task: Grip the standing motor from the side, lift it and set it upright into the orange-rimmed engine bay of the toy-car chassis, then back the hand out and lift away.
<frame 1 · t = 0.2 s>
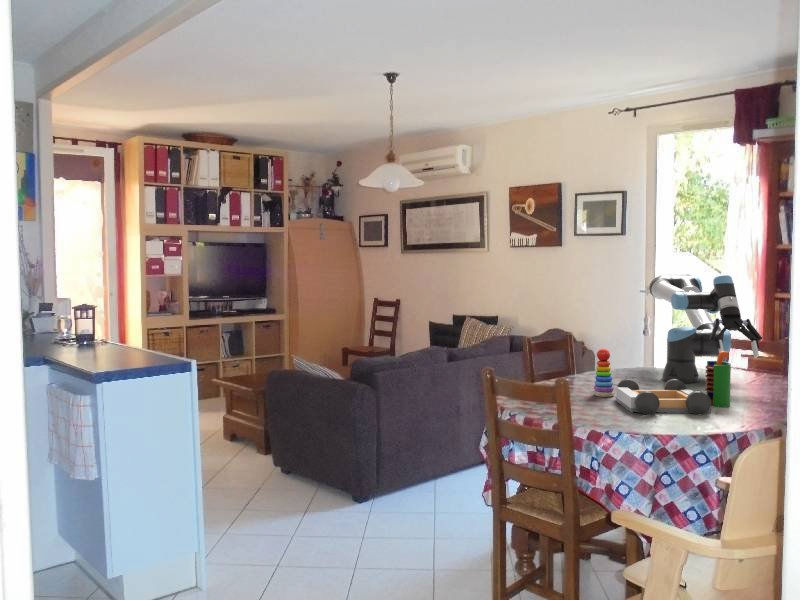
hand: (739, 356, 286), 15 cm above the table, tool tilted 35°, fingers open, 13 cm apart
chassis: (661, 406, 265), on the table
motor: (716, 404, 268), on the table
stacking toy: (603, 395, 285), on the table
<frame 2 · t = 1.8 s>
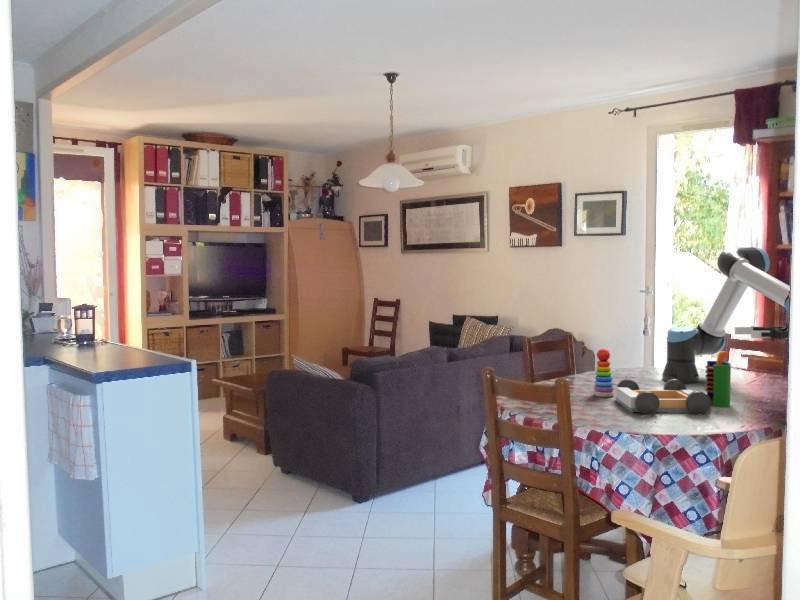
hand: (743, 332, 266), 27 cm above the table, tool horizontal, fingers open, 13 cm apart
nothing on the table moved.
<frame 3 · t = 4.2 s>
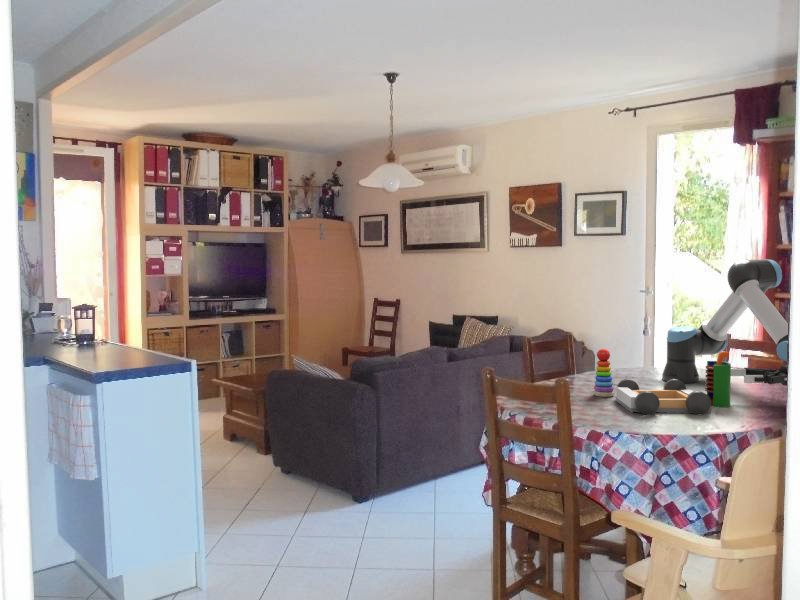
hand: (736, 375, 267), 11 cm above the table, tool horizontal, fingers open, 13 cm apart
nothing on the table moved.
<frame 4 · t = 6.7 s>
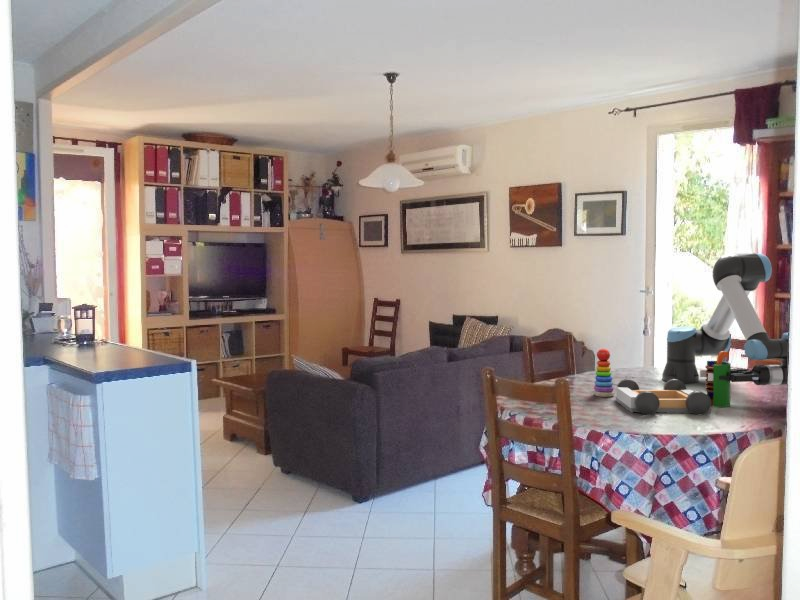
hand: (704, 375, 267), 11 cm above the table, tool horizontal, fingers closed on motor, 7 cm apart
motor: (716, 404, 268), on the table, touching gripper
everything else where it was.
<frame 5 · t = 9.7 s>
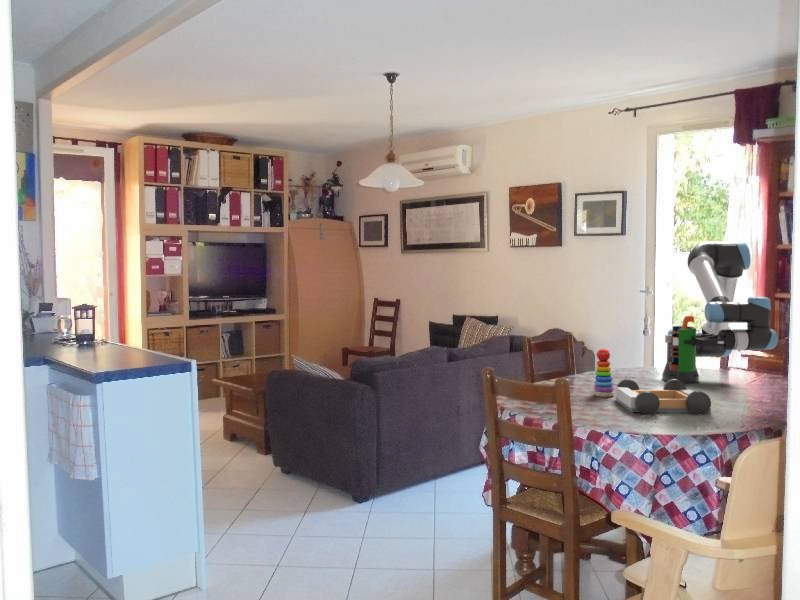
hand: (669, 340, 262), 25 cm above the table, tool horizontal, fingers closed on motor, 7 cm apart
motor: (682, 370, 263), point 14 cm above the table, touching gripper
everything else where it was.
when the fingers open (14 cm above the table, at t = 12.7 s): motor drops 1 cm, resting on chassis.
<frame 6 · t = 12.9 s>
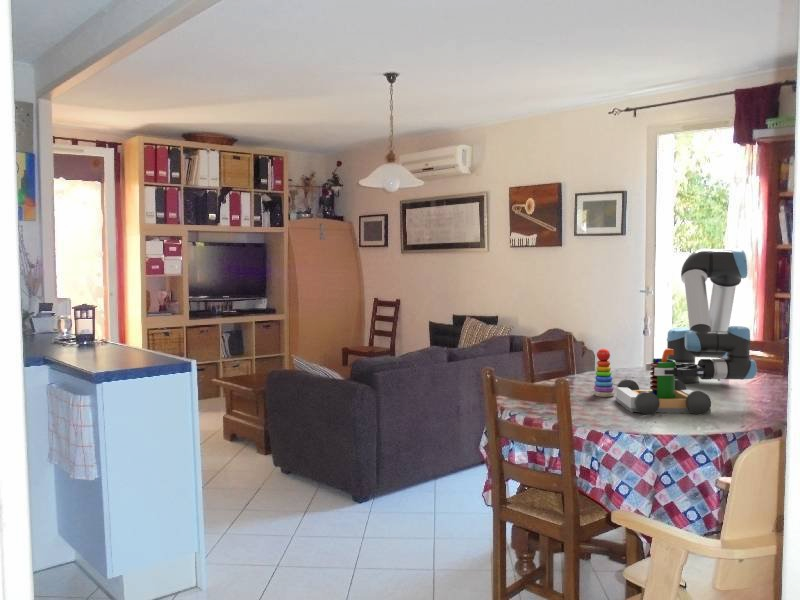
hand: (650, 369, 264), 14 cm above the table, tool horizontal, fingers open, 9 cm apart
motor: (661, 402, 265), point 1 cm above the table, touching chassis
everything else where it was.
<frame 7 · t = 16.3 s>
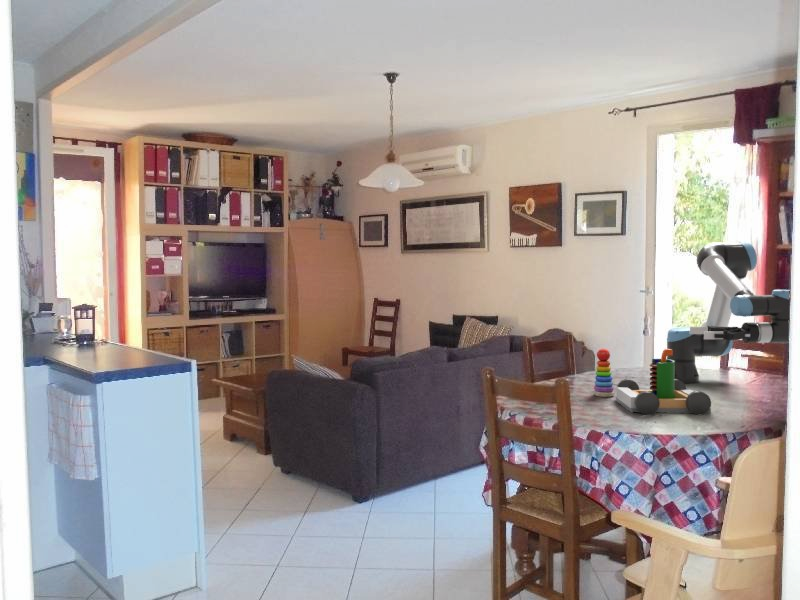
hand: (696, 332, 262), 27 cm above the table, tool horizontal, fingers open, 13 cm apart
nothing on the table moved.
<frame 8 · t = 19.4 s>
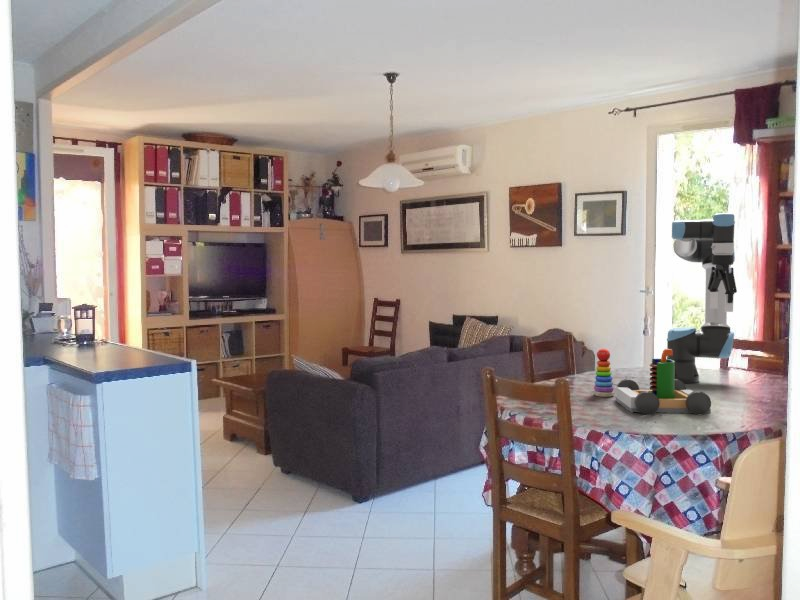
hand: (721, 310, 273), 35 cm above the table, tool pointing down, fingers open, 13 cm apart
nothing on the table moved.
at the end: motor inside the target area on the chassis (0.2 cm from its centre), point 1.3 cm above the chassis's base; motor tilted 0°; the gripper is holding nothing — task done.
